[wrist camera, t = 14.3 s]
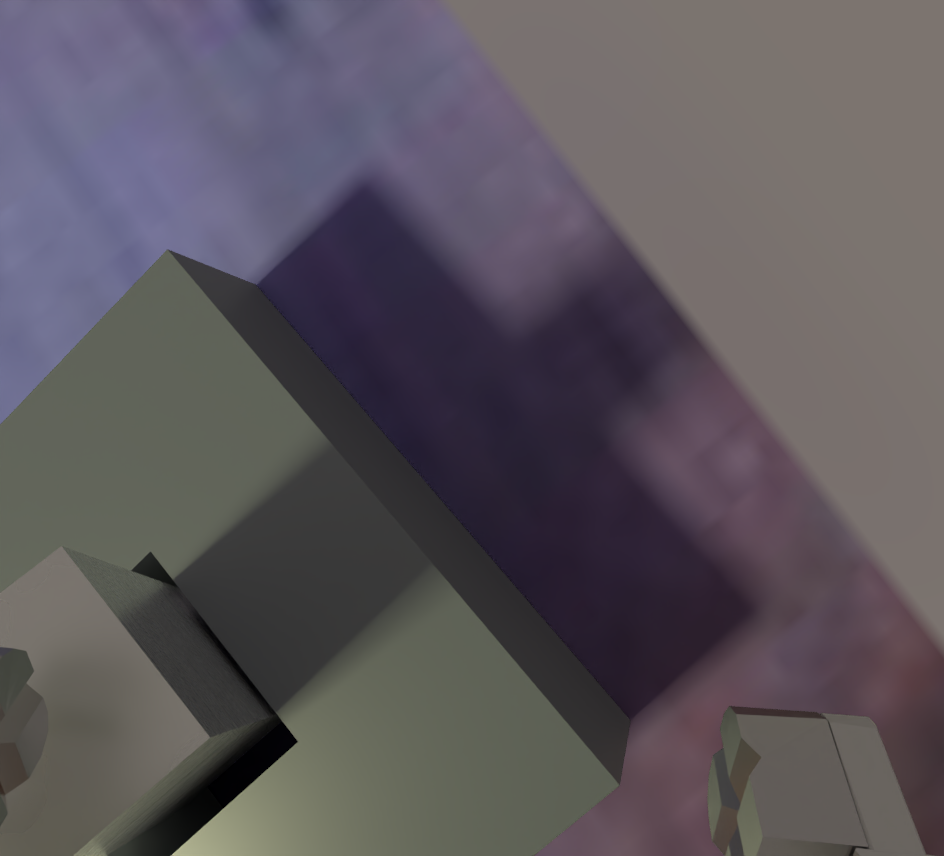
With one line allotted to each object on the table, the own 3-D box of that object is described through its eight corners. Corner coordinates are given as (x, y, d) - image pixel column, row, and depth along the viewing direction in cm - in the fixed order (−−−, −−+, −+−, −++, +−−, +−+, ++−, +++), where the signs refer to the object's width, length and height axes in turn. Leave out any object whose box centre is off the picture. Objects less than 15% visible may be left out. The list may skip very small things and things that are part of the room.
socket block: (630, 720, 20) (619, 785, 16) (213, 1068, 22) (114, 1199, 18) (255, 284, 22) (167, 249, 19) (-90, 635, 25) (-234, 669, 21)
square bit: (297, 707, 22) (209, 737, 12) (181, 809, 21) (-11, 927, 11) (211, 599, 22) (61, 546, 13) (94, 694, 22) (-160, 715, 12)
